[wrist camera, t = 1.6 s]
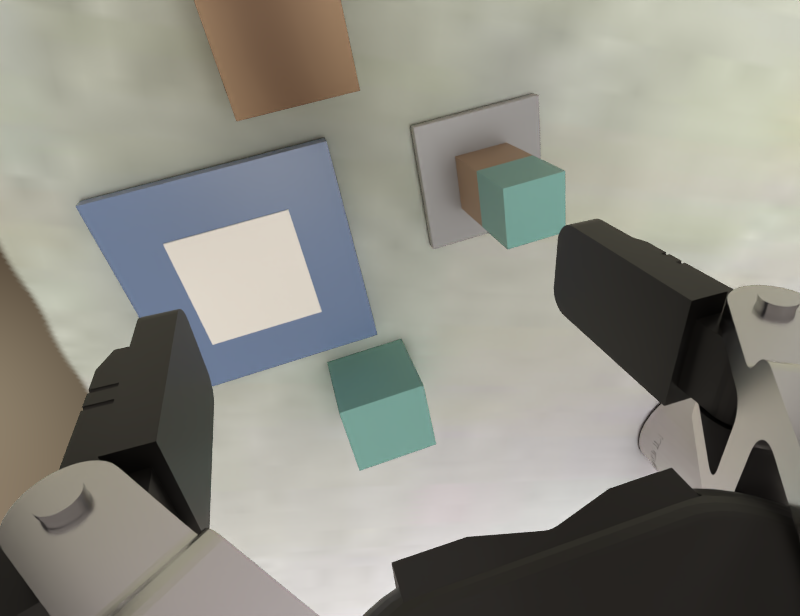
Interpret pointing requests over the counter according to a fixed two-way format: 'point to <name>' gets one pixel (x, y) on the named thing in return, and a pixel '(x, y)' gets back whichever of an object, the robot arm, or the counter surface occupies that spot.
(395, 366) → the teal cube
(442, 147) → the stacked block model
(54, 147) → the counter surface
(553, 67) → the counter surface
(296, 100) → the walnut cube
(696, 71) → the counter surface
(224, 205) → the board
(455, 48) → the counter surface
